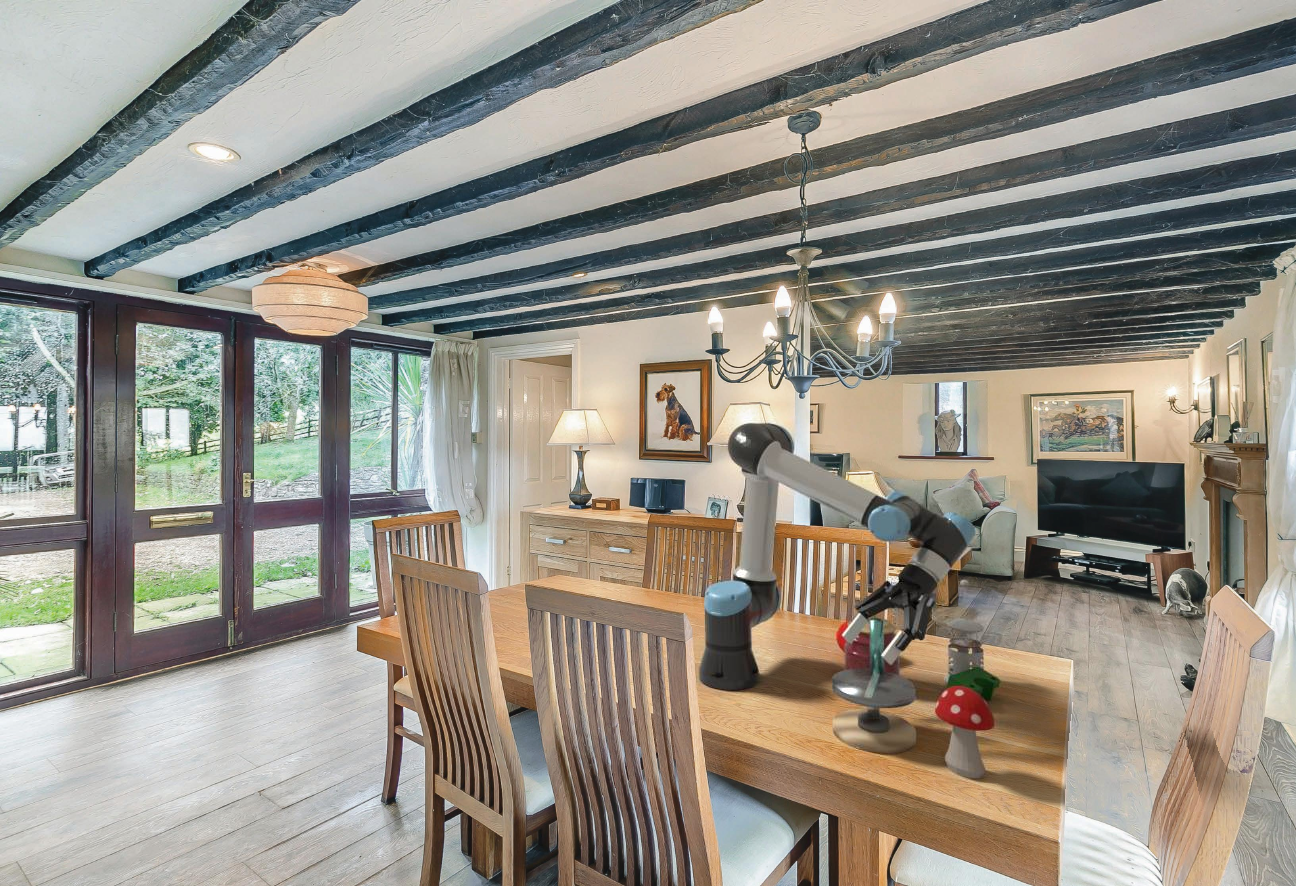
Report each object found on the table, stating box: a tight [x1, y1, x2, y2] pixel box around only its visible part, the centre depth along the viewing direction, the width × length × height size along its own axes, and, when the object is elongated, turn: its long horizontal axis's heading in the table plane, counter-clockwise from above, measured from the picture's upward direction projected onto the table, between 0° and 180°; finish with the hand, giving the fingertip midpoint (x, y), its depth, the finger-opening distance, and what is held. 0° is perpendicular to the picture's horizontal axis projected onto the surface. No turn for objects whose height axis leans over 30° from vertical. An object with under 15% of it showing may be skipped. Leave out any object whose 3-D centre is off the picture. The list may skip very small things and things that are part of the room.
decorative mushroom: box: [934, 686, 995, 780], centre depth 111 cm, size 10×9×15 cm
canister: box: [844, 614, 901, 676], centre depth 151 cm, size 13×13×18 cm
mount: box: [832, 708, 917, 755], centre depth 126 cm, size 16×16×3 cm
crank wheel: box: [831, 618, 917, 720], centre depth 126 cm, size 16×16×18 cm
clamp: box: [945, 667, 1001, 702], centre depth 141 cm, size 12×6×9 cm, turn 114°
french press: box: [943, 579, 985, 683], centre depth 152 cm, size 10×12×25 cm
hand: (865, 649), depth 131 cm, fingers open, 13 cm apart
